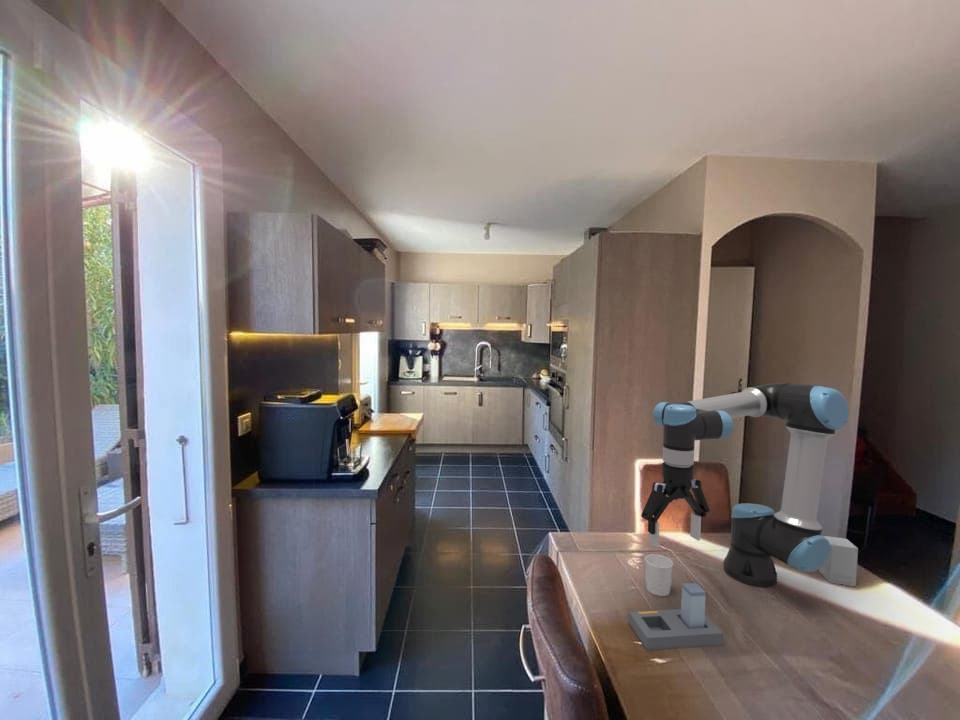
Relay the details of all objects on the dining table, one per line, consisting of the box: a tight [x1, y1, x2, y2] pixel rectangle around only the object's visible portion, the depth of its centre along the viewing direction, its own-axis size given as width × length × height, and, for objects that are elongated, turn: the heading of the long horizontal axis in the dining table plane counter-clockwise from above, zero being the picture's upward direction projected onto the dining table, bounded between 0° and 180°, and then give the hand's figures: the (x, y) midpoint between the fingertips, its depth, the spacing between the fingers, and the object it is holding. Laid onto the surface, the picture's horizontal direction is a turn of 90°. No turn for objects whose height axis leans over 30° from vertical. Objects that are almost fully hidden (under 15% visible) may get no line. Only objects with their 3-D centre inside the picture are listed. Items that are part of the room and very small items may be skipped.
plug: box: [680, 582, 707, 629], centre depth 111 cm, size 4×4×12 cm
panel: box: [628, 608, 724, 651], centre depth 111 cm, size 20×10×4 cm, turn 96°
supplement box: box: [818, 535, 859, 587], centre depth 139 cm, size 7×7×13 cm
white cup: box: [644, 553, 674, 597], centre depth 130 cm, size 8×8×10 cm
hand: (674, 541), depth 113 cm, fingers open, 13 cm apart
